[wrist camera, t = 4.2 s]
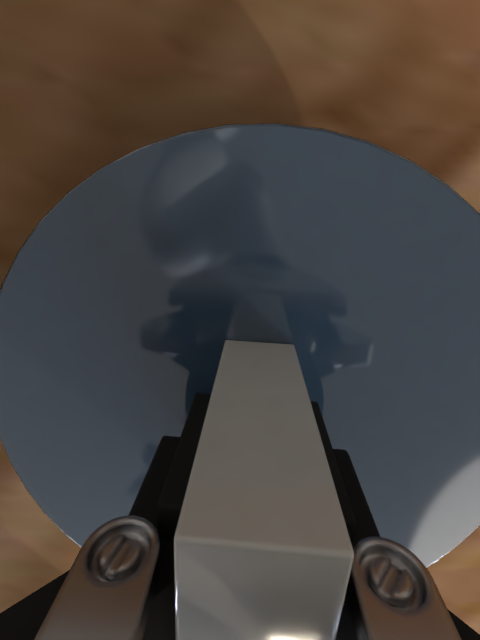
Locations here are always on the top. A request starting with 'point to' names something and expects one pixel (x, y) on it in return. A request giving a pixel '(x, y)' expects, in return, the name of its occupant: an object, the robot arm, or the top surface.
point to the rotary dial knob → (252, 361)
